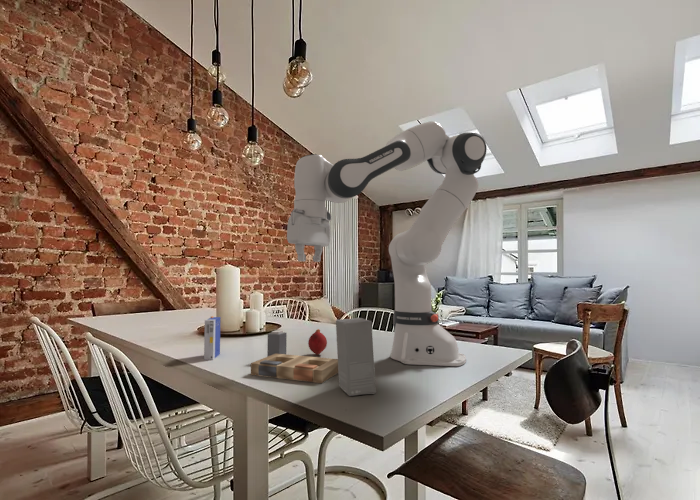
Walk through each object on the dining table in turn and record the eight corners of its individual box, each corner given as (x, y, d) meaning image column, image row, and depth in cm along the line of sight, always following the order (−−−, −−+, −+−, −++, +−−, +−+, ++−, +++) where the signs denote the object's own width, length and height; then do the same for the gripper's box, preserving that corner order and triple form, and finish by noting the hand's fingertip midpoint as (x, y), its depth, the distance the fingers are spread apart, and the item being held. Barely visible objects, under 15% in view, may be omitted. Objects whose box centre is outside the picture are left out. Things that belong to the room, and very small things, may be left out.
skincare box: (376, 394, 85) (376, 321, 85) (344, 397, 83) (344, 322, 83) (363, 383, 93) (363, 316, 93) (334, 386, 91) (335, 317, 91)
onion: (319, 357, 119) (319, 331, 119) (304, 355, 122) (304, 329, 122) (330, 354, 124) (330, 328, 124) (315, 352, 127) (315, 327, 127)
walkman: (211, 354, 124) (211, 316, 124) (219, 354, 124) (220, 315, 124) (203, 360, 116) (204, 319, 116) (212, 359, 116) (213, 319, 117)
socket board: (340, 370, 104) (340, 357, 104) (321, 383, 93) (321, 369, 93) (275, 364, 111) (275, 352, 111) (250, 375, 100) (250, 361, 100)
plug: (286, 359, 117) (286, 330, 117) (279, 362, 113) (279, 332, 113) (274, 358, 118) (274, 329, 118) (267, 361, 114) (267, 331, 115)
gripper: (302, 206, 99) (302, 260, 99) (333, 216, 119) (333, 261, 118) (281, 207, 102) (280, 261, 101) (315, 217, 121) (314, 262, 120)
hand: (309, 261), depth 110 cm, fingers open, 8 cm apart
